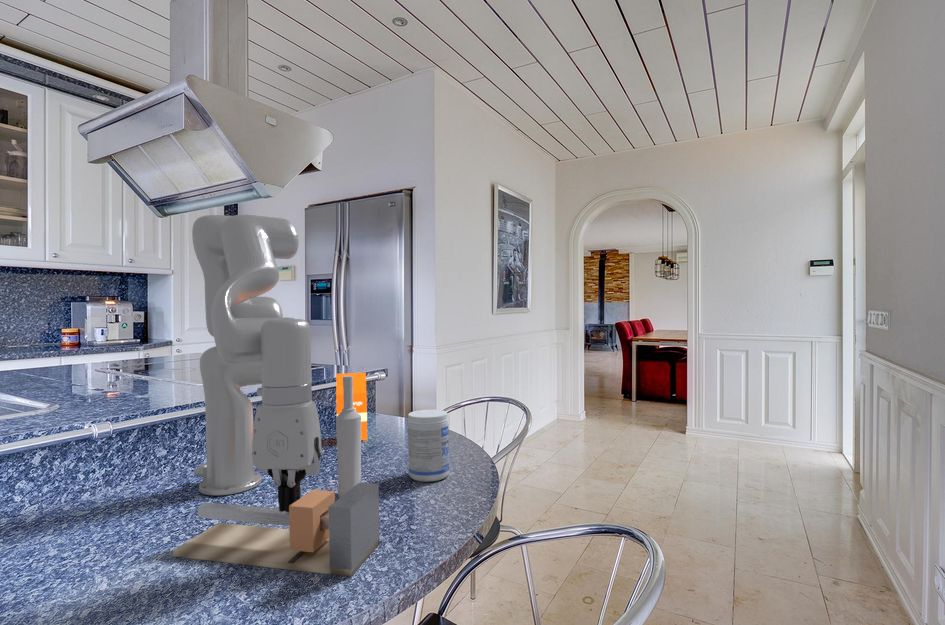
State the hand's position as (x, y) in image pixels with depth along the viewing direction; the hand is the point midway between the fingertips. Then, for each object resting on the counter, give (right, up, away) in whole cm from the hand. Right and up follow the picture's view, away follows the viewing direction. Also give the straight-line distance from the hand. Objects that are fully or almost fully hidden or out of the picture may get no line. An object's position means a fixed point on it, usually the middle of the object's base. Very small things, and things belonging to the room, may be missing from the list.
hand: (289, 508), depth 78 cm
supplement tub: (+19, -7, +35) cm, 40 cm away
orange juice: (-7, -7, +68) cm, 69 cm away
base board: (-2, -7, 0) cm, 7 cm away
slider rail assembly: (-2, -7, 0) cm, 7 cm away
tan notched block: (+4, -5, -1) cm, 6 cm away
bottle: (+4, -7, +24) cm, 25 cm away
